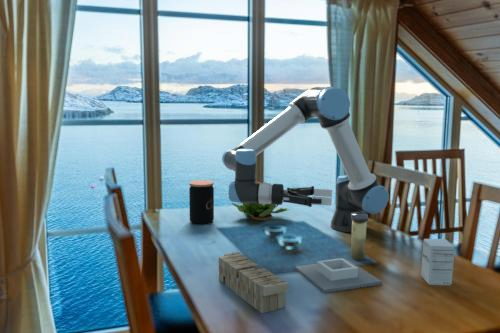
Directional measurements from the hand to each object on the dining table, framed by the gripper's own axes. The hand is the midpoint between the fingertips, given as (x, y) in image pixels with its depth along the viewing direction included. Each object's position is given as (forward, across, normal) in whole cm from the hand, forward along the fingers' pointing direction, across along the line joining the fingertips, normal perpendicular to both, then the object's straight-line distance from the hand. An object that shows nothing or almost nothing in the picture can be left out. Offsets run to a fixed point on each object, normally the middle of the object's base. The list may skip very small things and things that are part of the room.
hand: (331, 197), depth 170 cm
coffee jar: (-57, -33, -22) cm, 69 cm away
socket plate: (+2, +19, -22) cm, 29 cm away
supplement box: (+33, +16, -22) cm, 43 cm away
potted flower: (-31, -46, -22) cm, 60 cm away
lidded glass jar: (+10, 0, -22) cm, 24 cm away
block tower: (-23, +36, -22) cm, 48 cm away
